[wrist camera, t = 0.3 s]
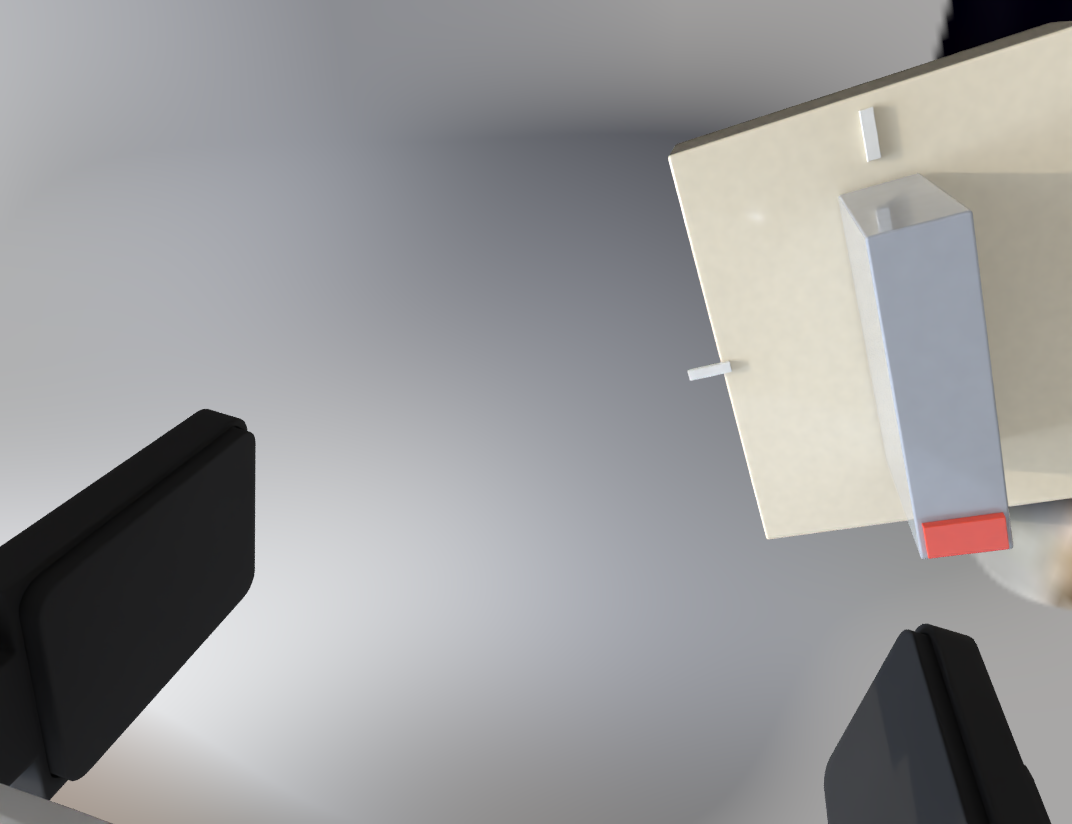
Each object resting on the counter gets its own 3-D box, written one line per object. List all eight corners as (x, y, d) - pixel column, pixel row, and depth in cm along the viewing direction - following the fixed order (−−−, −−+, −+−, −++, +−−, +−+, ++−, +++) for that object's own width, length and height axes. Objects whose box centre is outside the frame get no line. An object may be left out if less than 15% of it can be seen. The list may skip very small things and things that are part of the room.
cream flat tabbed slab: (642, 154, 26) (631, 168, 23) (1099, 6, 21) (1153, 1, 18) (736, 501, 30) (736, 547, 28) (1124, 441, 26) (1169, 489, 23)
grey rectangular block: (837, 194, 22) (866, 240, 17) (920, 171, 21) (976, 211, 16) (886, 461, 25) (923, 566, 20) (959, 449, 24) (1017, 555, 19)
